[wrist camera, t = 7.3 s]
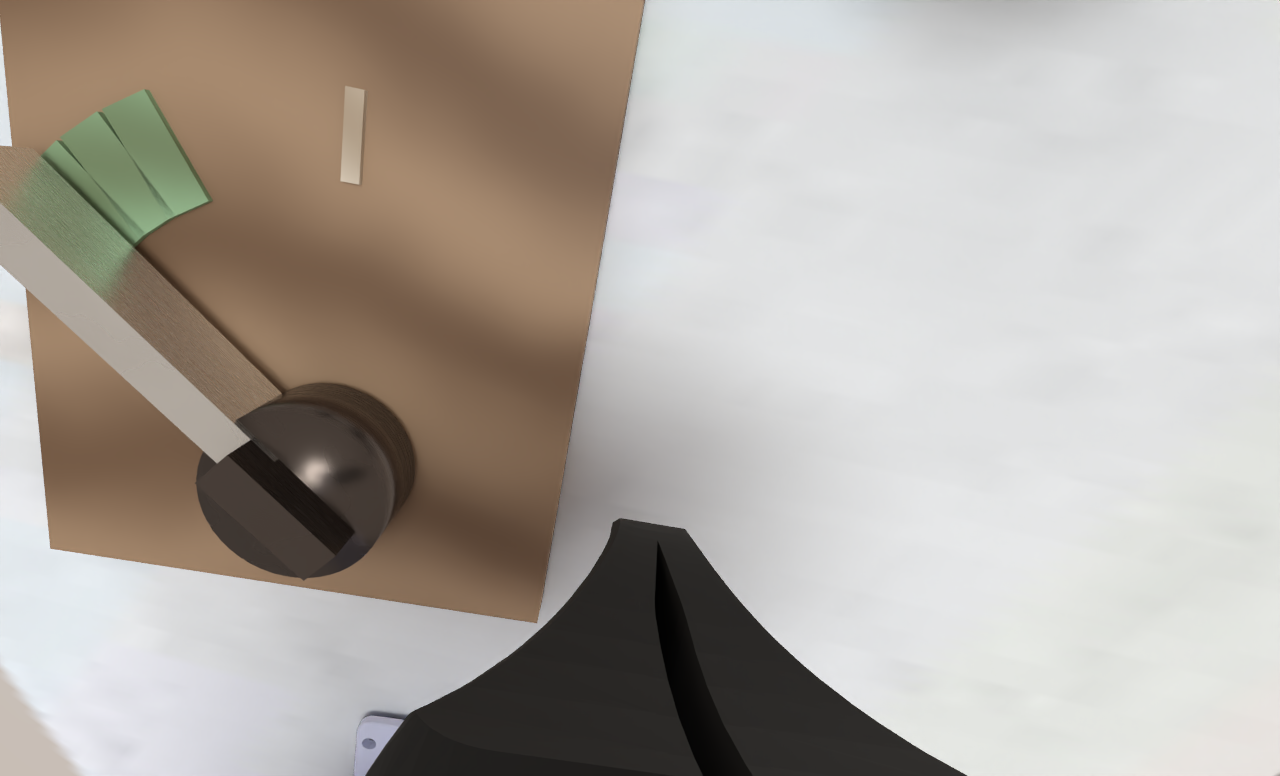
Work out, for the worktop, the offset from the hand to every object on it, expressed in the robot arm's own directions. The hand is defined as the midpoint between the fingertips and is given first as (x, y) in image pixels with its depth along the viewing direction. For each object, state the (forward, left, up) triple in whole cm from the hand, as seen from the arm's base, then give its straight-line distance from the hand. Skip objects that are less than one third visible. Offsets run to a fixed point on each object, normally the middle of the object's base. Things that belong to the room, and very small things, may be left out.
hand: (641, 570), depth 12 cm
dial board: (+2, +10, -9) cm, 14 cm away
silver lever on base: (0, +12, -8) cm, 15 cm away
